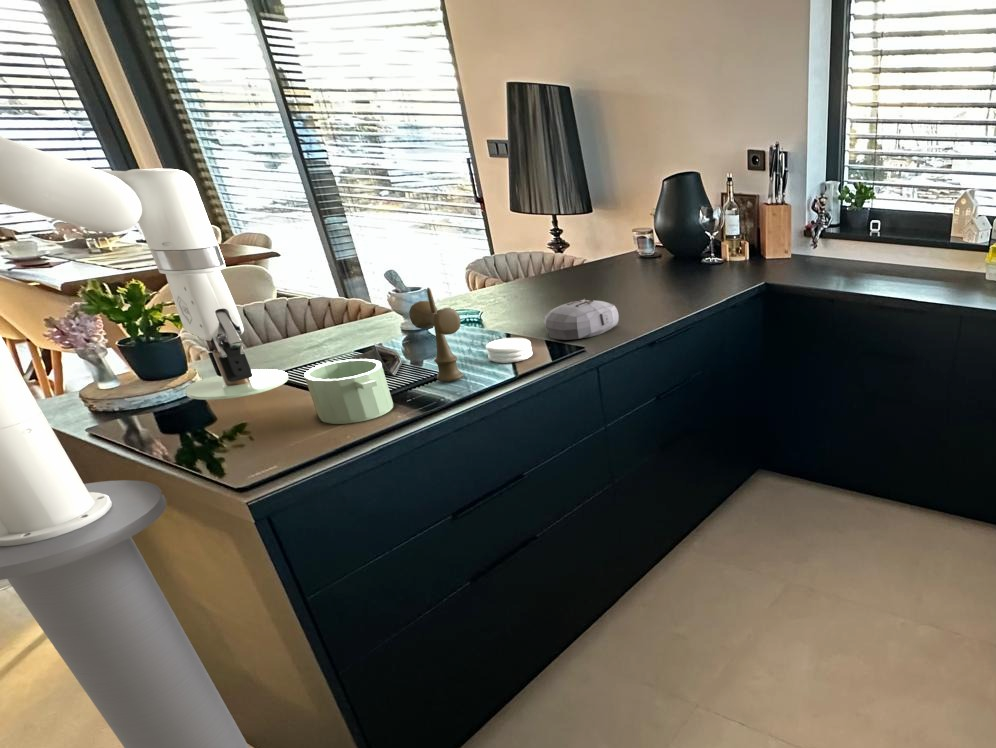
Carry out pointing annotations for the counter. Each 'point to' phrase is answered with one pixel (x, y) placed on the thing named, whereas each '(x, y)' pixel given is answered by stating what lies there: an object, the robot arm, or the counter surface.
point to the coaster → (509, 350)
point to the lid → (235, 384)
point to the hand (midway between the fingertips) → (235, 375)
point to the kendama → (438, 334)
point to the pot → (349, 391)
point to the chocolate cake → (383, 358)
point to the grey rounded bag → (581, 319)
